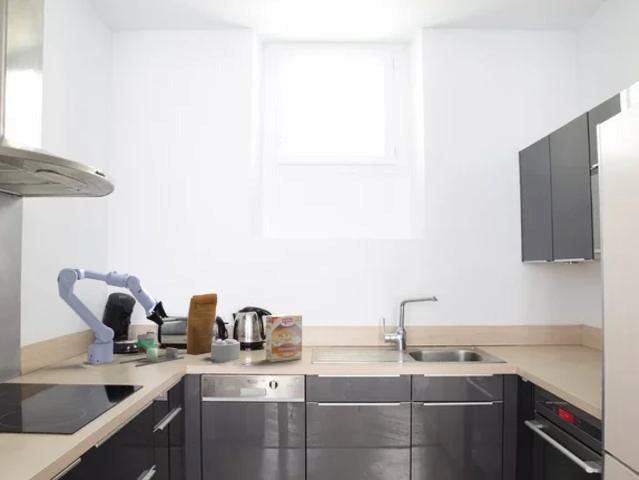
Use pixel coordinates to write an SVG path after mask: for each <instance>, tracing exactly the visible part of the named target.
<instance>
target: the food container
mask: <svg viewBox="0 0 639 480" xmlns="http://www.w3.org/2000/svg"><path fill="white" fill-rule="evenodd" d="M156 338H157V335H156V333H155V331H146V333H142V334H137V338H136V340H137V355H146V351H147V349H149V348H155V339H156Z"/></svg>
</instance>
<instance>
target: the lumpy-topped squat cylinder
mask: <svg viewBox="0 0 639 480" xmlns="http://www.w3.org/2000/svg"><path fill="white" fill-rule="evenodd" d="M210 359H211V360H212V361H213V363H224V362H225V363H228V362H234V361H237V360H240V359H241V342H239V341H237V340H236V339H235V338H234V339H231V338H225V339H224V340H222V338H217V339H216V340H215V341H214V342H212V344H211V352H210Z"/></svg>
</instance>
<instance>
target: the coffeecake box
mask: <svg viewBox="0 0 639 480" xmlns="http://www.w3.org/2000/svg"><path fill="white" fill-rule="evenodd" d="M265 316H266V317H265V360H267V361H268V362H273V363H274V362H283V361H294V360H295V361H296V360H302V359H303V315H301V314H297V313H293V314H292V313H290V314H288V313H287V314H271V315H270V314H269V315H265Z"/></svg>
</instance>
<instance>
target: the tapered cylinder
mask: <svg viewBox="0 0 639 480" xmlns="http://www.w3.org/2000/svg"><path fill="white" fill-rule="evenodd" d="M158 352H159V351H158V348H157V347H154V348H149V349H147V351H146V354H145V356H146V357H145V358H146V361H147V362H155V361H157V359H158V358H159V357H158Z"/></svg>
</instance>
